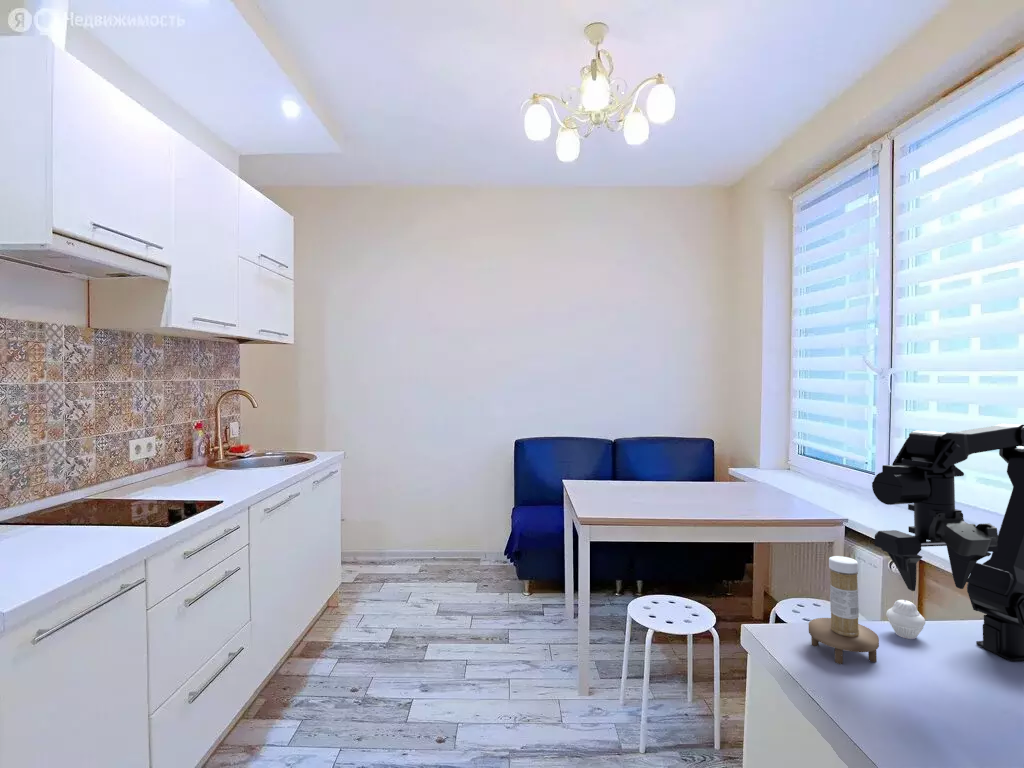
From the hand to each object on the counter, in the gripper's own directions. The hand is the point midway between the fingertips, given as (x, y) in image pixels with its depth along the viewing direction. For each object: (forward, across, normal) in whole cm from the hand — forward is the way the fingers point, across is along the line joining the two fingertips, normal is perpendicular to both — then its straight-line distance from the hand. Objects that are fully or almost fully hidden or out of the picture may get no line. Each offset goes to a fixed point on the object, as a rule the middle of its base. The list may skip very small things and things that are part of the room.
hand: (935, 589), depth 92 cm
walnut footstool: (+13, -14, +5) cm, 20 cm away
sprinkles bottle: (+9, -14, +4) cm, 17 cm away
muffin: (+13, +3, +10) cm, 17 cm away
